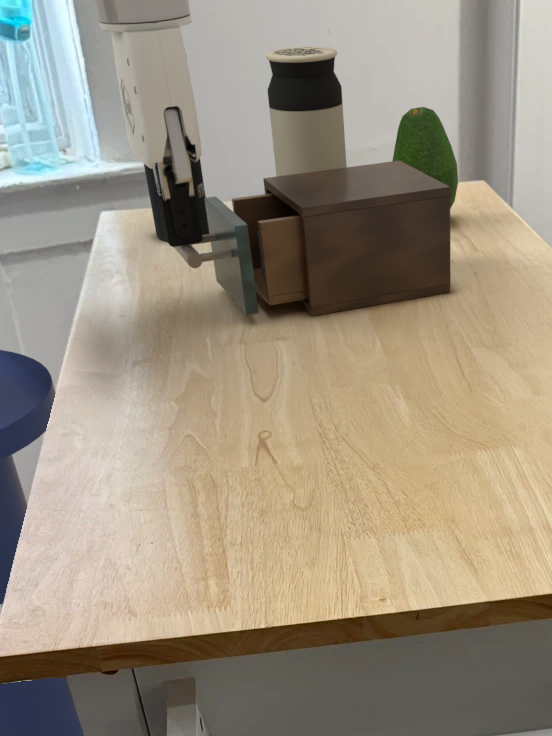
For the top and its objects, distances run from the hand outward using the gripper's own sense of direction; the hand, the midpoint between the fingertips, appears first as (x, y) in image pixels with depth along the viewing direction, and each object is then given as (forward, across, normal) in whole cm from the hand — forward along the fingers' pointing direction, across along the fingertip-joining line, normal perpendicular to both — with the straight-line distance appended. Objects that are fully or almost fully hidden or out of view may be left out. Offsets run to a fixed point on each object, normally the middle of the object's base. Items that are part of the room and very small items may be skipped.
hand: (184, 242), depth 95 cm
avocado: (+7, -18, +32) cm, 37 cm away
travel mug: (+7, -20, +19) cm, 28 cm away
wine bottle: (+7, -28, +5) cm, 29 cm away
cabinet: (+7, 0, +17) cm, 18 cm away
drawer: (+6, 0, +8) cm, 10 cm away
